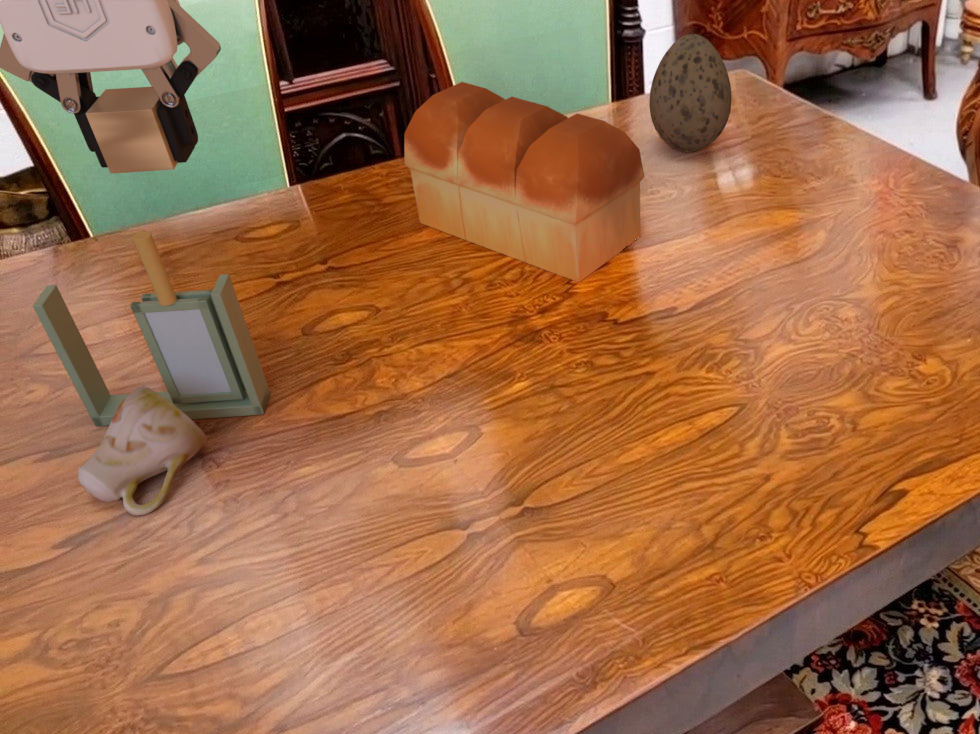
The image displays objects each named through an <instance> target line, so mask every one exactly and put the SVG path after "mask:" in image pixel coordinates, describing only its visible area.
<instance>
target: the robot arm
mask: <svg viewBox="0 0 980 734" xmlns="http://www.w3.org/2000/svg"><path fill="white" fill-rule="evenodd" d="M0 27H1V30H2V32H3V35H2V39H1V43H0V69H2V70H3V71H5V72H7V73H9V74H11V75H13V76H15V77H18V78H20V79H22V80H24V81H26V82H30V83H32V84H33V86H34V87H36V88H37V89H38V90H40V91H42V92H43V93H44V94H46V95H48V96H49V97H51V98H52V99H54V100H56V101H57V102H58V103H60V105H61V107H62V109H64V111H66V112H67V113H69V114H73V115H74V117H75V119H76V122H77V125H78V127H79V129H80V132H81V134H82V137H83V139H84V141H85V144H86V146H87V148H88V150H89V151H90V152H92V153H94V154H95V156H96V158H97V160H98V163H99V165H100V167H101V168H105V169H106V168H108V166H107V164H106V162H105V159H104V157H103V154H102V152H101V150H100V147H99V145H98V142H97V140H96V138H95V135H94V133H93V130H92V128H91V126H90V123H89V121H88V118H87V116H86V112H87V111H88V110H89V109H90V107H91V106H92V105H93V104H94V103H95V101H96V100H97V99H98V98H99V97H100V96H97V95H96V92H94V86H93V80H92V73H97V72H115V71H116V72H117V71H132V70H141V71H142V73H143V74H144V77H145V78H146V79H147V81H148V83H149V85H150V87H153V89H154V91H155V92H156V94H157V96H158V98H159V101H160V104H161V105H160V107H159V108H158V110H157V114H158V117H159V120H160V122H161V125H162V128H163V131H164V133H165V136H166V139H167V142H168V144H169V147H170V150H171V153H172V155H173V158H174V160H175V161H177V162H178V163H177V164H183V163H187V162H188V160H189V158H190V156H191V155H192V153H193V152H194V150H195V148H196V146H197V145H198V142H199V134H198V131H197V127H196V124H195V121H194V119H193V115H192V113H191V110H190V106H189V104H188V101H187V98H186V96H185V95H186V93H187V92H188V90H189V88H190V87H191V86H192V84H193V82H194V81H195V80H196V78H197V77H198V76H199V75H200V74H201V73H202V72H203V71H205V69H206V68H207V67H208V66H209V65H210V64H211V63H212V62H213V61H214V60H215V59H216V58H217V57H218V55H219V54H220V52H221V50H222V46H221V44H220V42H219V41H218V40H217V39H216V38H215V37H214V36H213V35H212V34H211V33H209V32H208V31H207V30H206V29H205V28H204V27H203V26H202V25H201V24H200V23H199V22H198V21H197V20H196V19H195V18H194V17H192V16H191V14H189V12H187V11H186V10H185V9H184V8H183V7H182V6H181V4H180V0H0ZM183 43H184V44H185V45H186V46H187V47H188V48H189V53H188V54H187V55H186V56H185V57H184V58H183V59H182V60H181V62H180V64H179V65H178V63H177V62H176V60H175V59H174V55H175V54H176V53H177V52H178V46H180V45H182V44H183Z"/></svg>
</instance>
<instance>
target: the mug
mask: <svg viewBox="0 0 980 734" xmlns="http://www.w3.org/2000/svg"><path fill="white" fill-rule="evenodd" d="M157 392H158V391H155V390H154V389H152V388H150V387H148V386H147V385H141V386H139V387H137V388H136V389H134V390H133V391H131V392H130V393H128V394H129V395H128V396H127V397H126V398H125V399H124V400H123V401H122V402H121V404H120V405H119V407H118V409H117V410H116V412H115V414H114V417H113V419H112V421H111V423H110V425H108V428H107V430H106V433H105V435H104V437H103V439H102V441H101V443H100V445H99V446H98V448H97V449H95V450H94V452H93V453H92V454H91V455H90V457H89V458H87V459H86V460H85V461H84V463H82V464H81V465H80V466H79V468H78V470H77V480H78V483H79V484H80V485H81V487H82V488H83V489H84V490H85V491H87V493H89V494H90V495H91V496H93V497H94V498H95V499H97V500H100V501H102V502H106V503H107V502H108V503H109V502H118V501H121V499H122V505H123V508H124V510H125V511H126V512H127V513H128V514H130V515H132V516H144V515H147V514H149V513H152V512H154V511H155V510H156V509H158V508H159V507H161V505H162V504H163V503H164V502H165V500H166V499H167V497H168V495H169V493H170V491H171V489H172V487H173V484H174V482H175V480H176V477H177V476H178V474H179V472H180V471H181V470H182V468H183V467H184V466H185V464H186V463H187V462H188V461H189V460H191V459H192V458H193V457H194V456H195V455H197V454H198V453H199V452H200V450H201V449H202V448H203V447H204V446H205V445H206V444H207V443H208V437H207V435H206V433H204V431H203V430H202V429H201V427H200V426H199V425H198V424H196V423H195V421H194V420H193V419H192V420H191V419H190V418H189V417H188V416H187V415H185V414H184V413H183V412H182V411H181V410H180V409H178V408H177V407H176V406H175V405H173V404H172V403H171V402H169V401H168V400H167V399H165V398H164V397H163V396H161V395H160V394H158V393H157ZM166 471H167V472H166ZM164 472H166V474H165V477H164V480H163V483H162V486H161V488H160V490H159V492H158V494H157V495H156V497H155V498H154V499H153V500H150V502H147V503H145V504H138V503H137V502H136V501H135V500H134V498H133V497H134V494H135V492H136V491H137V489H138V485H139V484H141V483H142V482H143V481H146V480H148V479H150V478H152V477H154V476H156V475H159V474H161V473H164Z"/></svg>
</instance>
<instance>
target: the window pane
mask: <svg viewBox="0 0 980 734" xmlns="http://www.w3.org/2000/svg"><path fill="white" fill-rule="evenodd" d="M131 238H132V241H133V243H134V246H135V249H136V251H137V253H138V255H139V258H140V260H141V262H142V265H143V267H144V270H145V273H146V275H147V277H148V279H149V282H150V284H151V287H152V289H153V291H154V293H155V294H156V296H157V299H158V301H132V302H131V304H130V308H131V310H132V311H131V312H132V313H133V316H134V318H135V320H136V322H137V324H138V327H139V329H140V331H141V333H142V336H143V339H144V340H145V342H146V344H147V347H148V349H149V352H150V355H151V356H152V359H153V361H154V363H155V365H156V367H157V369H158V372H159V374H160V377H161V379H162V382H163V383H164V385H165V388H166V390H167V391H168V392H169V395H170V397H171V399H172V401H173V404H180V403H194V402H208V401H223V400H238V399H243V398H244V393H243V390H242V388H241V385H240V382H239V380H238V377H237V374H236V372H235V369H234V366H233V363H232V361H231V358H230V355H229V353H228V350H227V347H226V345H225V342H224V339H223V337H222V334H221V331H220V329H219V326H218V323H217V321H216V318H215V315H214V313H213V310H212V307H211V305H210V302H209V299H208V297H204V298H190V299H177V297H176V295H175V292H176V291H175V290H174V287H173V286H172V283H171V280H170V277H169V275H168V272H167V270H166V267H165V264H164V262H163V260H162V257H161V255H160V252H159V250H158V247H157V245H156V243H155V240H154V238H153V235H152V233H151V232H150V231H148V230H145V231H144V230H143V231H138V232H136V233H134V234H132V237H131Z"/></svg>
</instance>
